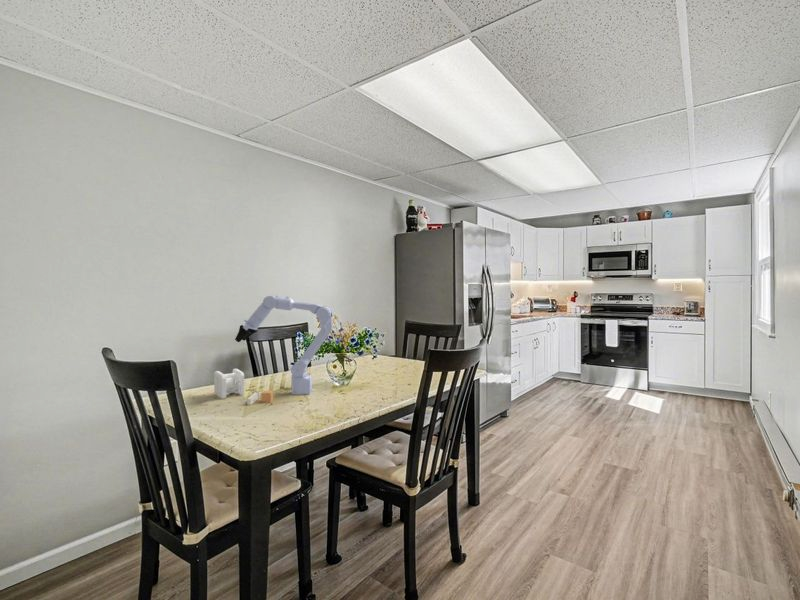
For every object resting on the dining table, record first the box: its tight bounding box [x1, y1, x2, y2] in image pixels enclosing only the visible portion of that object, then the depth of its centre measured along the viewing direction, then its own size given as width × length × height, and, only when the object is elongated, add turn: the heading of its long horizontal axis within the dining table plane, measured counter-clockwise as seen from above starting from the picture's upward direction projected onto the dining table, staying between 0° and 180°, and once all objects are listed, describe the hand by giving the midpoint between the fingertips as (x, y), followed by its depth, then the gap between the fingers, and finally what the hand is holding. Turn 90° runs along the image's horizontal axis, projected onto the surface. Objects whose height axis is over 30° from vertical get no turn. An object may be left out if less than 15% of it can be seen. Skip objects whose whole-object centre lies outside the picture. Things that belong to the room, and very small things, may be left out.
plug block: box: [260, 390, 274, 403], centre depth 180 cm, size 4×4×4 cm
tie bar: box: [246, 391, 261, 406], centre depth 179 cm, size 2×12×2 cm, turn 2°
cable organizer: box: [213, 368, 245, 400], centre depth 191 cm, size 15×11×12 cm
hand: (239, 340), depth 191 cm, fingers open, 7 cm apart
